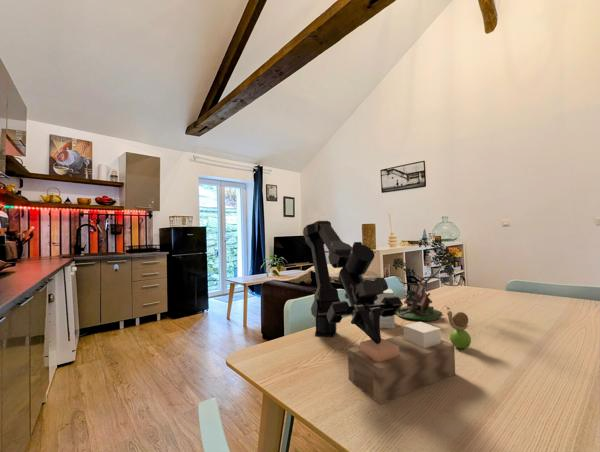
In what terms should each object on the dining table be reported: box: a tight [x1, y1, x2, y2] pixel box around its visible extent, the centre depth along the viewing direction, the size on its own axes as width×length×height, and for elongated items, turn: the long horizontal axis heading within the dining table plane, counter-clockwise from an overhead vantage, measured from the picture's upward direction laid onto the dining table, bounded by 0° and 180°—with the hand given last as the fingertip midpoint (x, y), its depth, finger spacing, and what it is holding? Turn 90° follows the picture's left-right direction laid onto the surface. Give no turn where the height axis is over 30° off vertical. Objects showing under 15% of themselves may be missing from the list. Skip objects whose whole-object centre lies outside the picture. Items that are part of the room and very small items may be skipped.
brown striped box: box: [347, 334, 456, 404], centre depth 66 cm, size 24×11×7 cm, turn 117°
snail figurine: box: [446, 306, 472, 349], centre depth 81 cm, size 5×6×12 cm
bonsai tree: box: [392, 237, 460, 322], centre depth 112 cm, size 35×24×32 cm
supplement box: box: [374, 288, 396, 329], centre depth 102 cm, size 7×7×13 cm
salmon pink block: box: [359, 337, 399, 363], centre depth 62 cm, size 6×6×7 cm
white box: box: [403, 321, 442, 349], centre depth 69 cm, size 6×6×7 cm
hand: (378, 342), depth 62 cm, fingers closed, pressing on salmon pink block
